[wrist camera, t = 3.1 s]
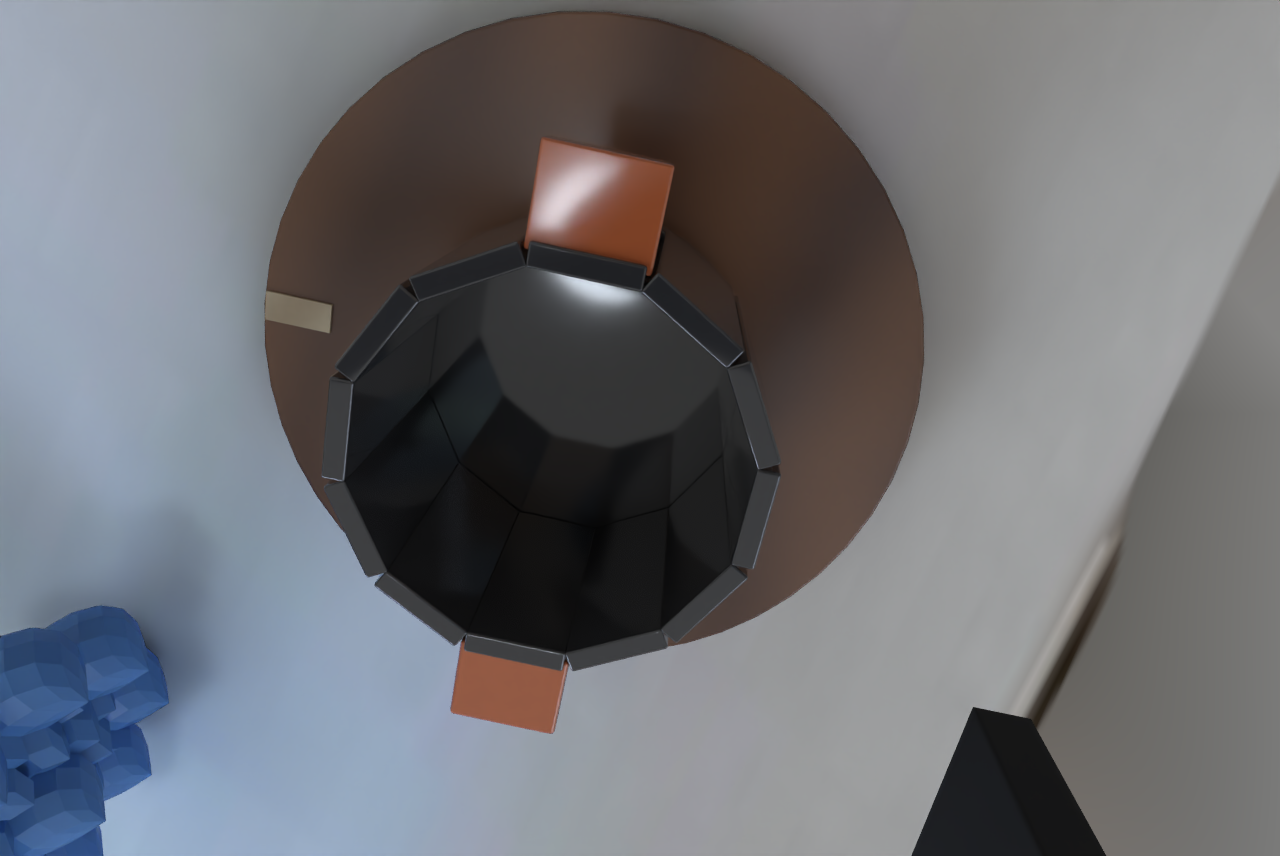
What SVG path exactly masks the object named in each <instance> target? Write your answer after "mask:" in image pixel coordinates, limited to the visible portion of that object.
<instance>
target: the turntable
mask: <svg viewBox="0 0 1280 856" xmlns="http://www.w3.org/2000/svg"><path fill="white" fill-rule="evenodd" d="M549 135H552V136H556V137H561V138H565V139H570V140H574V141H579V142H583V143H588V144H592V145H597V146H601V147H606V148H611V149H615V150H620V151H624V152H629V153H633V154H638V155H642V156H647V157H651V158H656V159H660V160H665V161H669V162H673V163H675V171H674V175H673V180H672V185H671V189H670V194H669V199H668V203H667V208H666V213H665V217H664V222H663V226H664V227H665V228H667V229H670V230H671V231H672V232H673V233H675V234H677V235H678V236H680V237H682V238H683V239H684V240H686V241H687V242H688V243H689V244H691V245H692V246H693V247H694V248H696V249H697V250H698V251H699V252H700V253H702V255H703V256H704V257H705V258H706V259H707V260H708V261H709V262H710V263H711V264H712V265H713V266H714V267H715V268H716V269H717V271H718V272H719V273H720V275H721V276H722V278H723V279H724V280H725V281H726V282H728V283H729V284H730V285H731V286H732V289H733V294H734V296H738V297H739V301H740V304H741V308H742V311H743V314H744V318H745V321H746V324H747V327H748V330H749V335H750V338H751V342H752V345H753V348H754V352H755V355H756V359H757V362H758V365H759V369H760V372H761V376H762V380H763V385H764V389H765V393H766V397H767V402H768V406H769V410H770V415H771V419H772V423H773V427H774V432H775V436H776V440H777V444H778V449H779V453H780V457H781V464H779V467H780V471H781V479H780V483H779V486H778V490H777V493H776V497H775V500H774V503H773V507H772V510H771V514H770V517H769V521H768V524H767V527H766V531H765V534H764V538H763V541H762V545H761V548H760V552H759V555H758V558H757V562H756V565H755V568H754V569H747V572H748V579H747V580H746V581H745V582H744V583H743V584H742V585H741V586H739V587H738V588H737V589H736V590H735V591H734V592H733V593H732V594H731V595H729V596H728V597H727V598H726V599H725V600H724V601H723V602H722V603H721V604H720V605H718V606H717V607H716V608H715V609H714V610H713V611H712V612H711V613H710V614H708V615H707V616H706V617H705V618H704V619H703V620H702V621H701V622H700V623H699V624H697V625H696V626H695V627H694V628H693V629H692V630H691V631H690V632H689V633H687V634H686V635H685V636H684V637H683V638H682V639H681V640H680V641H679V642H677V643H676V642H674V641H673V640H672V639H671V638H669V637H668V646H674V645H679V644H684V643H688V642H691V641H695V640H698V639H701V638H704V637H708V636H711V635H714V634H717V633H721V632H723V631H726V630H728V629H730V628H732V627H735V626H737V625H739V624H741V623H744V622H746V621H748V620H750V619H753V618H755V617H757V616H759V615H760V614H762V613H764V612H766V611H767V610H769V609H771V608H772V607H774V606H776V605H777V604H779V603H781V602H782V601H784V600H786V599H787V598H789V597H791V596H792V595H793V594H794V593H796V592H797V591H798V590H800V589H801V588H802V587H803V586H805V585H806V584H807V583H809V582H810V581H811V580H813V579H814V578H815V577H816V576H818V575H819V574H820V573H821V572H822V571H823V570H824V569H825V568H826V567H827V566H828V565H829V564H830V563H831V562H832V561H833V560H834V559H835V558H836V557H837V556H838V555H839V554H840V553H841V552H842V551H843V550H844V549H845V548H846V547H847V546H848V545H849V544H850V543H851V541H852V540H853V539H854V537H855V536H856V535H857V533H858V532H859V531H860V530H861V528H862V527H863V526H864V524H865V523H866V522H867V521H868V519H869V518H870V517H871V515H872V514H873V512H874V511H875V509H876V507H877V505H878V504H879V502H880V500H881V499H882V497H883V495H884V493H885V492H886V490H887V488H888V487H889V485H890V483H891V481H892V480H893V477H894V475H895V472H896V470H897V468H898V465H899V463H900V461H901V458H902V456H903V453H904V451H905V449H906V446H907V444H908V441H909V437H910V433H911V430H912V426H913V422H914V418H915V415H916V411H917V407H918V403H919V396H920V389H921V381H922V373H923V365H924V321H923V311H922V305H921V298H920V292H919V285H918V279H917V273H916V270H915V266H914V263H913V260H912V256H911V253H910V250H909V246H908V243H907V240H906V236H905V233H904V230H903V228H902V226H901V223H900V221H899V219H898V217H897V215H896V213H895V210H894V208H893V206H892V204H891V202H890V200H889V197H888V195H887V193H886V191H885V189H884V187H883V186H882V184H881V182H880V181H879V179H878V178H877V176H876V175H875V173H874V172H873V170H872V168H871V167H870V165H869V164H868V162H867V161H866V159H865V158H864V156H863V155H862V153H861V151H860V150H859V148H858V147H857V146H856V145H855V144H854V143H853V142H852V140H851V139H850V138H849V137H848V136H847V135H846V133H845V132H844V131H843V130H842V129H841V128H840V126H839V125H838V124H837V123H836V122H835V121H834V120H833V118H832V117H831V116H830V115H829V114H828V113H827V112H826V111H825V110H824V109H823V108H822V107H820V106H819V105H818V104H817V103H816V102H815V101H814V100H812V99H811V98H810V97H809V96H808V95H807V94H806V93H804V92H803V91H802V90H801V89H800V88H799V87H798V86H796V85H795V84H794V83H793V82H792V81H791V80H789V79H787V78H786V77H784V76H783V75H781V74H780V73H778V72H777V71H775V70H774V69H772V68H771V67H769V66H767V65H766V64H764V63H763V62H761V61H760V60H758V59H757V58H755V57H754V56H752V55H750V54H749V53H746V52H744V51H742V50H740V49H738V48H736V47H734V46H731V45H729V44H727V43H725V42H723V41H721V40H718V39H716V38H714V37H712V36H710V35H708V34H706V33H703V32H699V31H696V30H693V29H689V28H686V27H683V26H679V25H676V24H673V23H669V22H666V21H663V20H659V19H655V18H648V17H641V16H634V15H628V14H621V13H614V12H580V11H559V12H552V13H545V14H538V15H531V16H524V17H517V18H510V19H507V20H504V21H500V22H497V23H493V24H490V25H487V26H483V27H480V28H477V29H473V30H470V31H467V32H464V33H462V34H460V35H457V36H455V37H453V38H451V39H449V40H447V41H444V42H442V43H440V44H438V45H436V46H434V47H432V48H429V49H427V50H425V51H423V52H421V53H420V54H418V55H417V56H415V57H414V58H412V59H411V60H409V61H408V62H406V63H405V64H403V65H402V66H400V67H399V68H397V69H395V70H394V71H392V72H391V73H389V74H388V75H386V76H385V77H383V78H382V79H381V80H380V81H379V82H378V83H377V84H376V85H374V86H373V87H372V88H371V89H370V90H369V91H368V92H367V93H366V94H364V95H363V96H362V97H361V98H360V99H359V100H358V101H357V102H356V103H354V104H353V105H352V106H351V107H350V108H349V109H348V110H347V111H346V113H345V114H344V115H343V116H342V117H341V119H340V120H339V121H338V122H337V124H336V125H335V126H334V127H333V128H332V130H331V131H330V132H329V133H328V134H327V136H326V137H325V138H324V139H323V140H322V142H321V143H320V145H319V146H318V148H317V150H316V151H315V153H314V154H313V156H312V158H311V159H310V161H309V163H308V164H307V166H306V168H305V169H304V171H303V173H302V174H301V176H300V177H299V179H298V181H297V183H296V186H295V188H294V190H293V193H292V195H291V197H290V200H289V202H288V205H287V207H286V209H285V212H284V214H283V216H282V219H281V222H280V225H279V229H278V233H277V236H276V240H275V244H274V248H273V251H272V255H271V259H270V264H269V272H268V280H267V288H266V297H265V348H266V354H267V361H268V368H269V375H270V382H271V387H272V391H273V395H274V398H275V402H276V405H277V409H278V413H279V416H280V420H281V423H282V426H283V429H284V431H285V433H286V436H287V438H288V441H289V443H290V445H291V448H292V450H293V453H294V455H295V457H296V460H297V462H298V464H299V466H300V467H301V469H302V471H303V473H304V474H305V476H306V478H307V480H308V481H309V483H310V485H311V487H312V488H313V490H314V492H315V494H316V495H317V497H318V498H319V500H320V501H321V502H322V504H323V505H324V506H325V508H326V509H327V511H328V512H329V513H330V515H331V516H332V517H333V519H334V520H335V521H336V523H337V524H338V525H339V527H340V528H341V529H342V530H343V527H342V525H341V523H340V521H339V519H338V517H337V515H336V513H335V511H334V509H333V507H332V505H331V503H330V501H329V499H328V497H327V495H326V493H325V490H324V486H325V485H326V484H327V483H328V482H329V481H330V480H331V479H327V478H323V477H322V475H321V474H322V462H323V450H324V438H325V426H326V414H327V402H328V391H329V379H330V377H331V376H332V375H334V374H335V373H336V372H338V370H336V369H335V364H336V363H337V361H338V360H339V359H340V357H341V356H342V355H343V354H344V352H345V351H346V350H347V349H348V347H349V346H350V345H351V344H352V342H353V341H354V340H355V339H356V337H357V336H358V335H359V334H360V332H361V331H362V330H363V329H364V327H365V326H366V325H367V323H368V322H369V321H370V320H371V318H372V317H373V316H374V315H375V313H376V312H377V311H378V310H379V308H380V307H381V306H382V305H383V303H384V302H385V301H386V300H387V298H388V297H389V296H390V295H391V293H392V292H393V291H394V289H395V288H396V287H397V286H398V285H399V284H401V283H402V282H404V281H406V280H407V279H409V277H410V276H412V275H414V274H415V273H417V272H418V271H420V270H422V269H423V268H425V267H427V266H428V265H430V264H432V263H433V262H435V261H436V260H438V259H440V258H441V257H443V256H445V255H446V254H448V253H449V252H451V251H453V250H454V249H456V248H458V247H459V246H461V245H463V244H464V243H466V242H467V241H469V240H471V239H472V238H474V237H476V236H477V235H479V234H480V233H482V232H484V231H487V230H490V229H493V228H496V227H499V226H502V225H505V224H507V223H510V222H512V221H514V220H517V219H519V218H522V217H524V216H526V215H529V209H530V202H531V196H532V190H533V184H534V177H535V171H536V165H537V158H538V152H539V146H540V139H541V138H542V137H545V136H549ZM343 531H344V530H343Z"/></svg>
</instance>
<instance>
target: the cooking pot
mask: <svg viewBox="0 0 1280 856" xmlns="http://www.w3.org/2000/svg"><path fill="white" fill-rule="evenodd" d="M674 171H675V163H673V162H669V161H665V160H660V159H656V158H651V157H647V156H642V155H638V154H633V153H629V152H624V151H620V150H615V149H611V148H606V147H601V146H597V145H592V144H588V143H583V142H579V141H574V140H570V139H565V138H561V137H556V136H552V135H549V136H545V137H542V138H541V139H540V146H539V152H538V158H537V165H536V171H535V177H534V184H533V190H532V196H531V202H530V209H529V215H526V216H524V217H522V218H519V219H517V220H514V221H512V222H510V223H507V224H505V225H502V226H499V227H496V228H493V229H490V230H487V231H484V232H482V233H480V234H479V235H477V236H476V237H474V238H472V239H471V240H469V241H467V242H466V243H464V244H463V245H461V246H459V247H458V248H456V249H454V250H453V251H451V252H449V253H448V254H446V255H445V256H443V257H441V258H440V259H438V260H436V261H435V262H433V263H432V264H430V265H428V266H427V267H425V268H423V269H422V270H420V271H418V272H417V273H415V274H414V275H412V276H410V277H409V279H407V280H406V281H404V282H402V283H401V284H399V285H398V286H397V287H396V288H395V289H394V291H393V292H392V293H391V295H390V296H389V297H388V298H387V300H386V301H385V302H384V303H383V305H382V306H381V307H380V308H379V310H378V311H377V312H376V313H375V315H374V316H373V317H372V318H371V320H370V321H369V322H368V323H367V325H366V326H365V327H364V329H363V330H362V331H361V332H360V334H359V335H358V336H357V337H356V339H355V340H354V341H353V342H352V344H351V345H350V346H349V347H348V349H347V350H346V351H345V352H344V354H343V355H342V356H341V357H340V359H339V360H338V361H337V363H336V364H335V369H336V370H338V372H336V373H335V374H334V375H332V376H331V377H330V379H329V391H328V402H327V414H326V426H325V438H324V450H323V462H322V474H321V475H322V477H323V478H327V479H331V480H330V481H329V482H328V483H327V484H326V485H325V486H324V490H325V493H326V495H327V497H328V499H329V501H330V503H331V505H332V507H333V509H334V511H335V513H336V515H337V517H338V519H339V521H340V523H341V525H342V527H343V530H344V532H345V534H346V536H347V538H348V540H349V542H350V544H351V546H352V548H353V550H354V552H355V554H356V556H357V558H358V560H359V562H360V565H361V567H362V569H363V571H364V573H365V575H366V576H367V577H371V576H375V575H379V574H381V575H380V576H379V578H378V579H377V581H376V582H375V587H376V588H378V589H379V590H380V591H381V592H383V593H384V594H385V595H387V596H388V597H389V598H391V599H392V600H393V601H395V602H396V603H397V604H399V605H400V606H401V607H403V608H404V609H405V610H407V611H408V612H409V613H411V614H412V615H413V616H415V617H416V618H417V619H419V620H420V621H421V622H423V623H424V624H425V625H427V626H428V627H429V628H430V629H432V630H433V631H434V632H436V633H437V634H438V635H440V636H441V637H442V638H444V639H445V640H446V641H448V642H449V643H450V644H452V645H454V646H455V645H456V644H457V643H458V642H459V641H460V640H461V639H462V640H461V645H460V651H459V658H458V664H457V670H456V676H455V683H454V689H453V695H452V702H451V708H450V709H451V712H452V713H453V714H458V715H463V716H468V717H472V718H477V719H482V720H487V721H491V722H496V723H501V724H506V725H510V726H515V727H520V728H525V729H529V730H534V731H539V732H544V733H549V734H552V733H553V732H554V731H555V727H556V723H557V718H558V714H559V709H560V705H561V700H562V695H563V691H564V686H565V681H566V677H567V672H568V667H569V665H570V668H571V670H572V671H576V670H580V669H584V668H589V667H593V666H597V665H601V664H605V663H609V662H613V661H617V660H621V659H625V658H629V657H634V656H638V655H642V654H646V653H650V652H654V651H658V650H662V649H666V648H667V647H668V637H669V638H671V639H672V640H673V641H674V642H676V643H677V642H679V641H680V640H681V639H682V638H683V637H684V636H685V635H686V634H687V633H689V632H690V631H691V630H692V629H693V628H694V627H695V626H696V625H697V624H699V623H700V622H701V621H702V620H703V619H704V618H705V617H706V616H707V615H708V614H710V613H711V612H712V611H713V610H714V609H715V608H716V607H717V606H718V605H720V604H721V603H722V602H723V601H724V600H725V599H726V598H727V597H728V596H729V595H731V594H732V593H733V592H734V591H735V590H736V589H737V588H738V587H739V586H741V585H742V584H743V583H744V582H745V581H746V580H747V579H748V572H747V569H754V568H755V565H756V562H757V558H758V555H759V552H760V548H761V545H762V541H763V538H764V534H765V531H766V527H767V524H768V521H769V517H770V514H771V510H772V507H773V503H774V500H775V497H776V493H777V490H778V486H779V483H780V479H781V471H780V467H779V464H781V457H780V453H779V449H778V444H777V440H776V436H775V432H774V427H773V423H772V419H771V415H770V410H769V406H768V402H767V397H766V393H765V389H764V385H763V380H762V376H761V372H760V369H759V365H758V362H757V359H756V355H755V352H754V348H753V345H752V342H751V338H750V335H749V330H748V327H747V324H746V321H745V318H744V314H743V311H742V308H741V304H740V301H739V297H738V296H734V294H733V289H732V286H731V285H730V284H729V283H728V282H726V281H725V280H724V279H723V278H722V276H721V275H720V273H719V272H718V271H717V269H716V268H715V267H714V266H713V265H712V264H711V263H710V262H709V261H708V260H707V259H706V258H705V257H704V256H703V255H702V253H700V252H699V251H698V250H697V249H696V248H694V247H693V246H692V245H691V244H689V243H688V242H687V241H686V240H684V239H683V238H682V237H680V236H678V235H677V234H675V233H673V232H672V231H671V230H670V229H667V228H665V227H664V226H663V222H664V217H665V213H666V208H667V203H668V199H669V194H670V189H671V185H672V180H673V175H674Z"/></svg>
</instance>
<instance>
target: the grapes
mask: <svg viewBox="0 0 1280 856" xmlns="http://www.w3.org/2000/svg"><path fill="white" fill-rule="evenodd" d="M168 703H169V699H168V692H167V685H166V681H165V676H164V673H163V671H162V668H161V665H160V662H159V660H158V658H157V657H156V656H155V655H154V654H153V653H152V652H151V651H150V650H149V649H147V648H146V647H145V642H144V639H143V636H142V633H141V631H140V628H139V625H138V623H137V621H136V620H134V619H133V618H132V617H131V616H130V615H129V614H128V613H127V612H126V611H125V610H124V609H121V608H115V607H109V606H102V605H101V606H94V607H91V608H87V609H84V610H80V611H77V612H73V613H70V614H69V615H67V616H65V617H63V618H62V619H60V620H58V621H56V622H55V623H53V624H51V625H50V626H48V627H47V628H45V629H40V628H27V629H24V630H20V631H17V632H13V633H10V634H6V635H2V636H0V856H103V847H102V836H101V829H100V827H99V825H100V824H102V823H103V822H105V821H106V818H105V807H104V801H105V800H108V799H110V798H112V797H115V796H117V795H119V794H121V793H123V792H125V791H127V790H128V789H130V788H132V787H133V786H135V785H137V784H138V783H140V782H141V781H143V780H144V779H146V778H147V777H149V776H151V775H152V773H151V765H150V757H149V752H148V746H147V743H146V740H145V738H144V735H143V732H142V730H141V728H139V727H138V726H137V725H136V724H135V723H137V722H139V721H141V720H142V719H144V718H146V717H147V716H149V715H150V714H152V713H154V712H155V711H157V710H158V709H160V708H162V707H163V706H165V705H167V704H168Z"/></svg>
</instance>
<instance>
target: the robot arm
mask: <svg viewBox="0 0 1280 856" xmlns="http://www.w3.org/2000/svg"><path fill="white" fill-rule="evenodd" d="M912 856H1106V855H1105V853H1104V851H1103V849H1102V847H1101V846H1100V844H1099V842H1098V840H1097V838H1096V836H1095V835H1094V833H1093V831H1092V829H1091V827H1090V826H1089V824H1088V822H1087V820H1086V818H1085V816H1084V815H1083V813H1082V811H1081V809H1080V807H1079V806H1078V804H1077V802H1076V800H1075V798H1074V797H1073V795H1072V793H1071V791H1070V789H1069V788H1068V786H1067V784H1066V782H1065V780H1064V778H1063V777H1062V775H1061V773H1060V771H1059V769H1058V768H1057V766H1056V764H1055V762H1054V760H1053V758H1052V757H1051V755H1050V753H1049V751H1048V749H1047V747H1046V746H1045V744H1044V742H1043V740H1042V738H1041V737H1040V735H1039V733H1038V731H1037V729H1036V728H1035V726H1034V724H1033V722H1032V720H1031V719H1028V718H1023V717H1019V716H1014V715H1009V714H1004V713H999V712H994V711H990V710H985V709H980V708H975V707H973V709H972V711H971V714H970V716H969V718H968V721H967V723H966V726H965V728H964V730H963V733H962V735H961V738H960V740H959V742H958V745H957V747H956V750H955V752H954V754H953V757H952V759H951V762H950V764H949V767H948V769H947V771H946V774H945V776H944V779H943V781H942V783H941V786H940V788H939V791H938V793H937V795H936V798H935V800H934V803H933V805H932V808H931V810H930V812H929V815H928V817H927V820H926V822H925V824H924V827H923V829H922V832H921V834H920V836H919V839H918V841H917V844H916V846H915V849H914V851H913V853H912Z"/></svg>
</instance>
